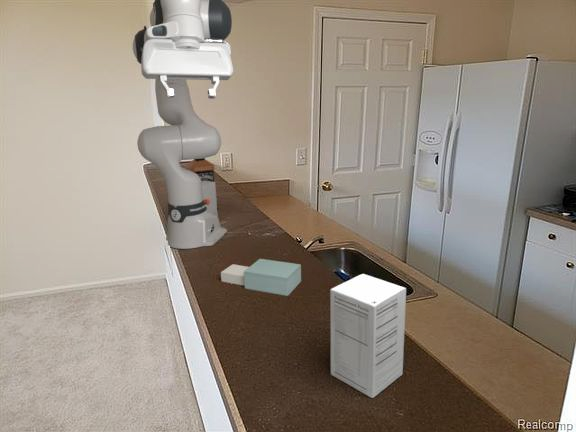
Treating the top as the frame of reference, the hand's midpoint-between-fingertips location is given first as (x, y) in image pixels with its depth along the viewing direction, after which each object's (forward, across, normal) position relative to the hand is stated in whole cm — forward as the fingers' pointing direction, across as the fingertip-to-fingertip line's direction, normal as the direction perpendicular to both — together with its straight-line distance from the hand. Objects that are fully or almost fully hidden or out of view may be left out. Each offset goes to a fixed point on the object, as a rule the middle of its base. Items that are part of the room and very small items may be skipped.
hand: (191, 97), depth 97 cm
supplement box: (+59, -19, +30) cm, 69 cm away
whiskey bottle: (+22, -18, -89) cm, 94 cm away
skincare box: (+28, -15, -72) cm, 78 cm away
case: (+46, -18, -9) cm, 50 cm away
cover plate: (+45, -13, -14) cm, 49 cm away
